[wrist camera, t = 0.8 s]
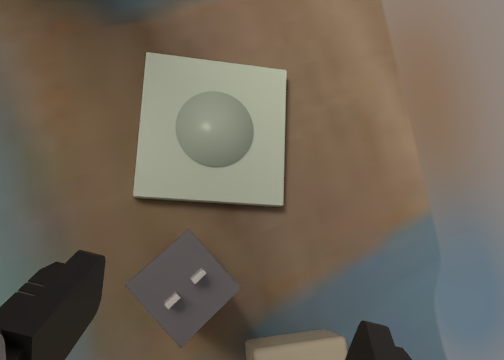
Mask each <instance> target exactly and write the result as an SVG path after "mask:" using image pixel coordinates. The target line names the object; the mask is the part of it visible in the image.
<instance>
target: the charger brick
mask: <svg viewBox="0 0 504 360" xmlns="http://www.w3.org/2000/svg"><path fill="white" fill-rule="evenodd" d="M125 286H126V287H127V288H128V289H129V291H130V292H131V293H132V294H133V295H134V296H135V297H136V298H137V300H138V301H139V302H140V303H141V304H142V305H143V306H144V307H145V308H146V310H147V311H148V312H149V313H150V314H151V315H152V316H153V317H154V319H155V320H156V321H157V322H158V323H159V324H160V325H161V326H162V327H163V329H164V330H165V331H166V332H167V333H168V334H169V335H170V336H171V338H172V339H173V340H174V341H175V342H176V343H177V344H178V345H179V346H180V348H181V347H182V346H183V345H184V344H185V343H186V342H187V341H188V340H189V339H190V338H191V337H192V336H193V335H194V334H195V333H196V332H197V331H198V330H199V329H200V328H201V327H202V326H203V325H204V324H205V323H206V322H207V321H208V320H209V319H210V318H211V317H212V316H213V315H214V314H215V313H216V312H218V311H219V310H220V309H221V308H222V307H223V306H224V305H225V304H226V303H227V302H228V301H229V300H230V299H231V298H232V297H233V296H234V295H235V294H236V293H237V292H238V291H239V290H240V289H241V287H240V286H239V285H238V284H237V283H236V281H235V280H234V279H233V278H232V277H231V276H230V275H229V274H228V272H227V271H226V270H225V269H224V268H223V267H222V266H221V265H220V263H219V262H218V261H217V260H216V259H215V258H214V257H213V256H212V255H211V253H210V252H209V251H208V250H207V249H206V248H205V247H204V246H203V244H202V243H201V242H200V241H199V240H198V239H197V238H196V237H195V236H194V234H193V233H192V232H191V231H190V230H189V229H188V230H187V231H186V232H184V233H183V234H182V235H181V236H180V237H179V238H178V239H177V240H175V241H174V242H173V243H172V244H171V245H170V246H169V247H167V248H166V249H165V250H164V251H163V252H162V253H161V254H160V255H158V256H157V257H156V258H155V259H154V260H153V261H152V262H151V263H149V264H148V265H147V266H146V267H145V268H144V269H143V270H142V271H140V272H139V273H138V274H137V275H136V276H135V277H134V278H133V279H131V280H130V281H129V282H128V283H127V284H126V285H125Z"/></svg>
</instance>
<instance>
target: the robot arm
mask: <svg viewBox="0 0 504 360" xmlns="http://www.w3.org/2000/svg"><path fill="white" fill-rule="evenodd" d="M104 269H105V256H103V255H99V254H95V253H91V252H87V251H83V250H79V251H77V252H76V253H75V254H74V255H73V256H72V257H71V258H70V259H69V260H68V261H67V262H66V263H65V264H64V263H60V262H55V263H53V264H51V265H49V266H47V267H44V268H42V269H40V270H39V271H38V272H37V273H36V274H35V275H34V276H33V277H32V278H31V279H29V280H28V283H25V284H24V285H23V286H22V287H21V288H20V289H19V290H18V292H17V293H15V294H14V295H13V296H12V297H10V298H9V299H8V300H7V301H6V302H5V303H4V304H3V305H2V306H1V307H0V360H65V358H66V357H67V356H68V354H69V353H70V351H71V350H72V348H73V347H74V345H75V344H76V343H77V341H78V340H79V338H80V337H81V335H82V334H83V332H84V331H85V329H86V328H87V327H88V325H89V324H90V322H91V321H92V319H93V318H94V316H95V314H96V312H97V310H98V307H99V305H100V301H101V296H102V287H103V278H104ZM345 360H412V359H411V358H410V357H409V355H408V354H407V353H406V352H405V350H404V349H403V348H400V347H396V346H395V345H394V342H393V339H392V336H391V333H390V330H389V328H388V327H387V326H384V325H379V324H375V323H371V322H367V321H361V322H360V324H359V326H358V328H357V331H356V333H355V336H354V338H353V341H352V343H351V346H350V348H349V351H348V353H347V356H346V358H345Z"/></svg>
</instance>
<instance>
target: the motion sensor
mask: <svg viewBox="0 0 504 360" xmlns="http://www.w3.org/2000/svg"><path fill="white" fill-rule="evenodd" d="M285 110H286V70H281V69H273V68H265V67H258V66H250V65H242V64H234V63H227V62H219V61H211V60H204V59H196V58H188V57H181V56H173V55H165V54H157V53H150V52H146V62H145V73H144V83H143V94H142V105H141V116H140V126H139V137H138V148H137V159H136V169H135V180H134V191H133V197H134V198H143V199H159V200H175V201H190V202H206V203H222V204H238V205H254V206H270V207H281V206H283V196H284V153H285Z"/></svg>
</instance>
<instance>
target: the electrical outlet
mask: <svg viewBox="0 0 504 360" xmlns="http://www.w3.org/2000/svg"><path fill="white" fill-rule="evenodd" d="M245 351H246V360H345V358H346V356H347V353H348V351H347V343H346V339H345V338H344V337H343V336H341V335H339V334H337V333H335V332H333V331H330V330H328V329H319V330H312V331H305V332H298V333H290V334H283V335H276V336H269V337H262V338H255V339H248V340H247V341H246V342H245Z"/></svg>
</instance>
